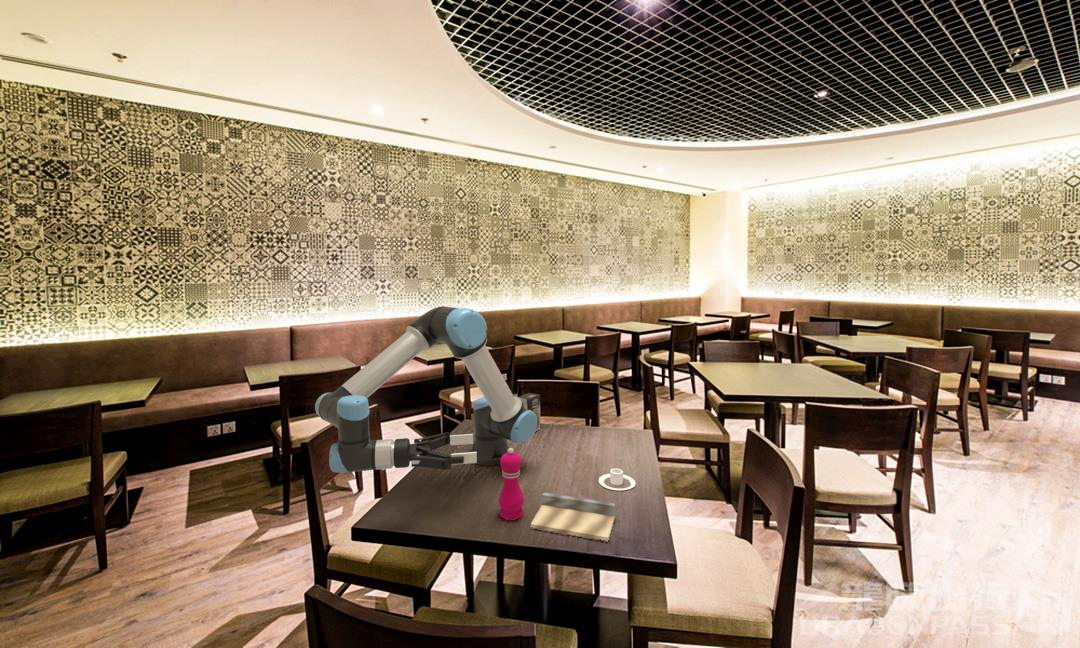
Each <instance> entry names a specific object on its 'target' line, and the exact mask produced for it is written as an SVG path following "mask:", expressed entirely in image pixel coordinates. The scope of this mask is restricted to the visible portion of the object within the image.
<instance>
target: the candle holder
mask: <svg viewBox="0 0 1080 648" xmlns="http://www.w3.org/2000/svg"><path fill="white" fill-rule="evenodd" d="M609 470H610V471H609V472H610V473H606V474H603V475H601V476H599V478H598V483H599V485H601V486H602V487H603V488H605V489H607V490H612V491H627V490H631V489H633V488H634V487H635V486H636V485H637V483H636V480H635V479H634V478H633V477H631V476H629V475H626V474H624V470H623V469H620V468H611V469H609ZM606 479H609V481H610V482H609V483H610V484H611V485H613V486H621V485H623V483H624V479H626V480H628V482H629V483H630V486H628V487H624V488H617V487H616V488H615V487H611V486H608V485H607V484H606V483H605V480H606Z"/></svg>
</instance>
